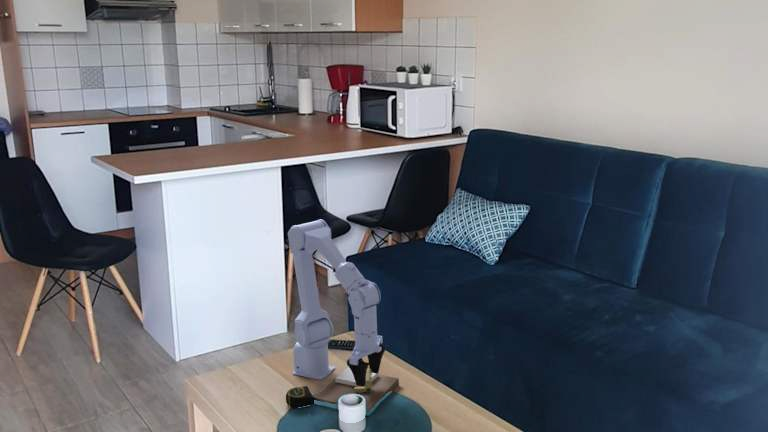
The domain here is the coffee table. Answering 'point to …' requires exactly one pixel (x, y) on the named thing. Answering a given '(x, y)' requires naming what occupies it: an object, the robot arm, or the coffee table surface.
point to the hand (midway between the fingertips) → (367, 378)
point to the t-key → (366, 383)
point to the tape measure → (299, 397)
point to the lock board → (377, 392)
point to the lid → (350, 377)
